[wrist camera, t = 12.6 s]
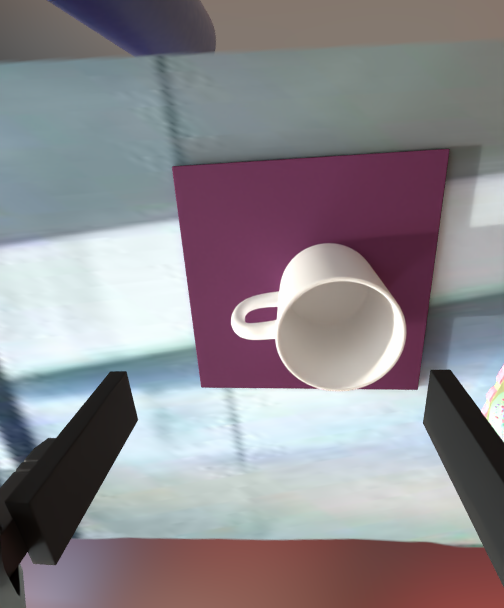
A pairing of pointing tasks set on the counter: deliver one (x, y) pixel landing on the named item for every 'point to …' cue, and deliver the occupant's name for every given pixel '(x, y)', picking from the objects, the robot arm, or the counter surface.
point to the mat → (304, 247)
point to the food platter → (496, 405)
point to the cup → (330, 320)
